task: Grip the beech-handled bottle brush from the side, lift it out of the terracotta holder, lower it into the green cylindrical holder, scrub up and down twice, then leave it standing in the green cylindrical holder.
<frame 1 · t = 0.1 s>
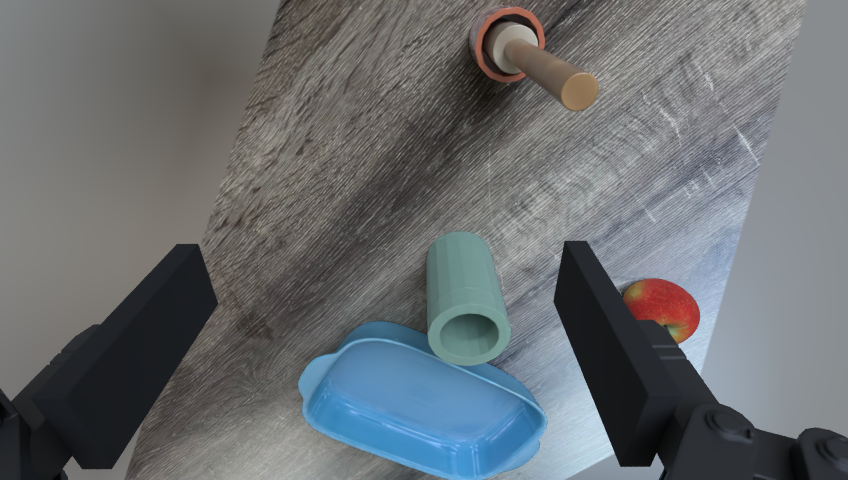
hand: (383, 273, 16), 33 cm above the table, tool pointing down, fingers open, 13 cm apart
apple: (641, 288, 57), on the table
green cylindrical holder: (458, 258, 54), on the table
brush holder: (498, 38, 41), on the table
casserole dish: (425, 380, 66), on the table
bottle brush: (499, 39, 41), resting on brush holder
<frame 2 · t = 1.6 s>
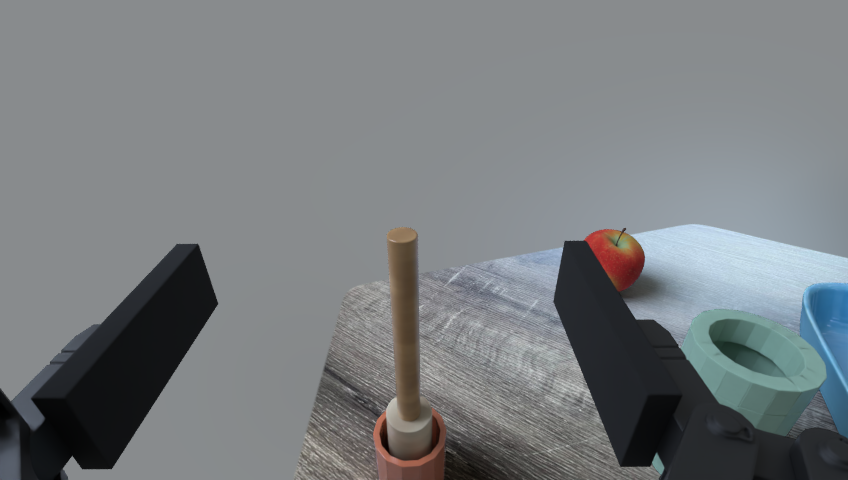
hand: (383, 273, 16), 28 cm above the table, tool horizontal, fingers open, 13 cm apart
apple: (602, 288, 60), on the table
green cylindrical holder: (693, 457, 39), on the table
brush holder: (411, 473, 38), on the table
bottle brush: (411, 470, 37), resting on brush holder
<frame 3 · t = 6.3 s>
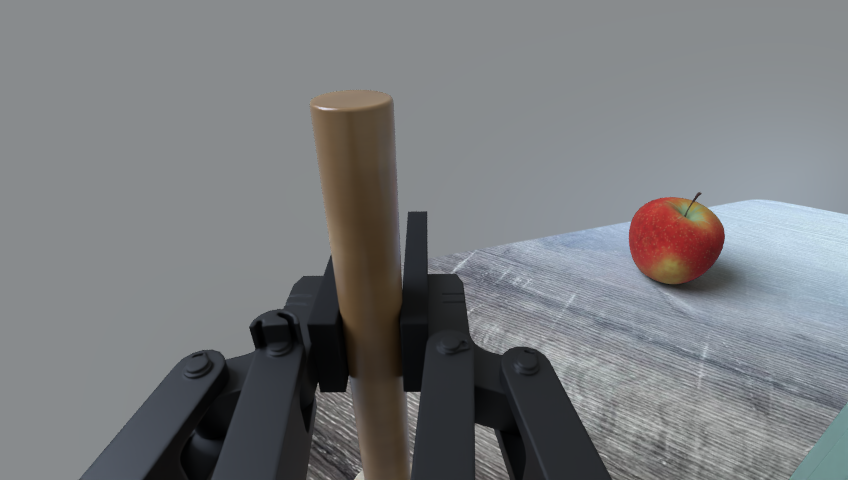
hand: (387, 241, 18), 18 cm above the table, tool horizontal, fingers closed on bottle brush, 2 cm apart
apple: (659, 277, 45), on the table
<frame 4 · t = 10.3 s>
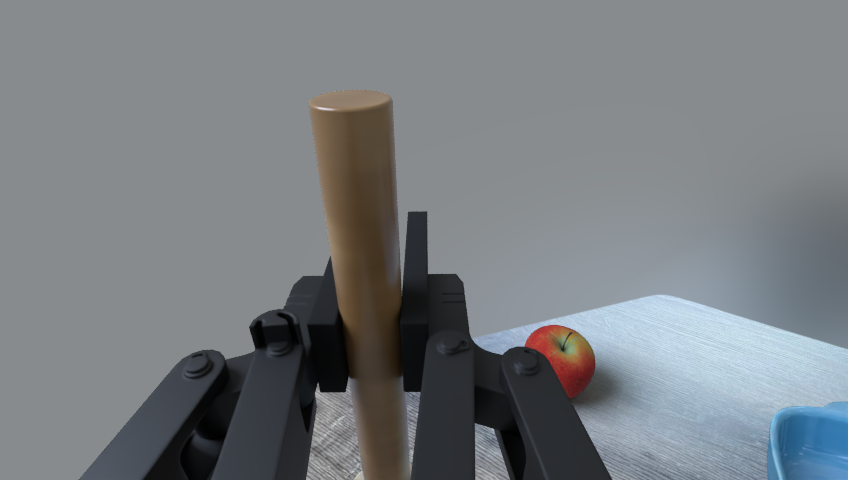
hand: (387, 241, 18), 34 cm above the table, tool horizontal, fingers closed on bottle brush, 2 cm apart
apple: (551, 388, 53), on the table
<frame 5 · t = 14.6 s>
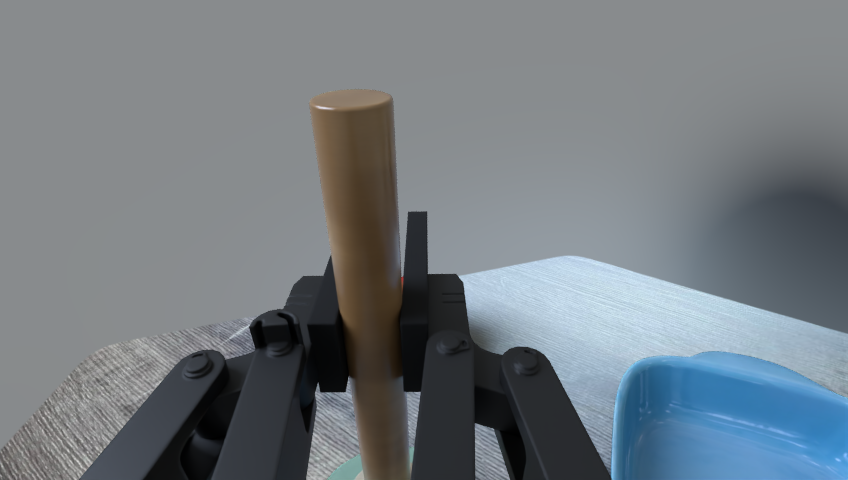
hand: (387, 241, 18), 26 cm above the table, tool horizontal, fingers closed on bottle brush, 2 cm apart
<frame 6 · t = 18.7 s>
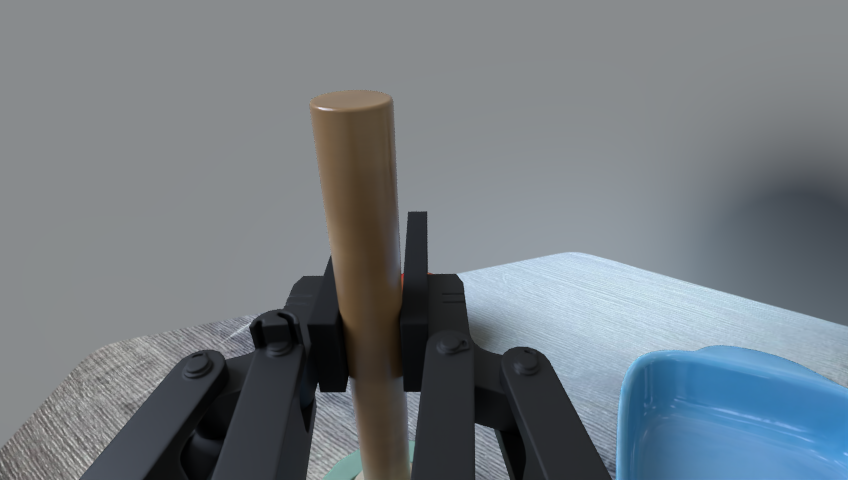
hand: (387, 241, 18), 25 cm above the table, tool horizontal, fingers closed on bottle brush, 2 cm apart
when the fingers open (18 cm above the table, at t = 22.8 s): bottle brush stays where it is, resting on green cylindrical holder.
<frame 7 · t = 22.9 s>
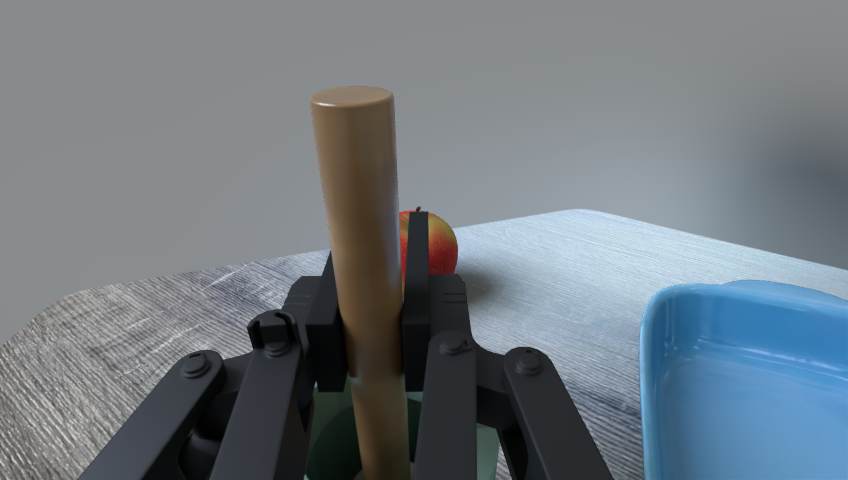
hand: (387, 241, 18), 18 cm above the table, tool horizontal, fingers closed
apple: (416, 292, 44), on the table
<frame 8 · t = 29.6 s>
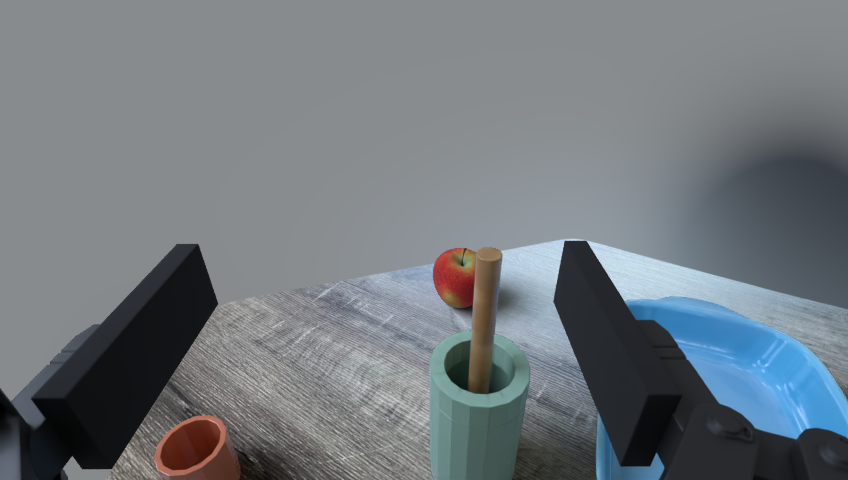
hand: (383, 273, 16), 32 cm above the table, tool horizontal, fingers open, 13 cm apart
apple: (459, 302, 64), on the table
green cylindrical holder: (471, 463, 43), on the table
casserole dish: (703, 466, 42), on the table
bottle brush: (472, 458, 42), point 1 cm above the table, touching green cylindrical holder
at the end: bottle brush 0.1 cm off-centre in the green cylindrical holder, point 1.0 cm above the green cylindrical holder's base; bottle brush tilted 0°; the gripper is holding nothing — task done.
